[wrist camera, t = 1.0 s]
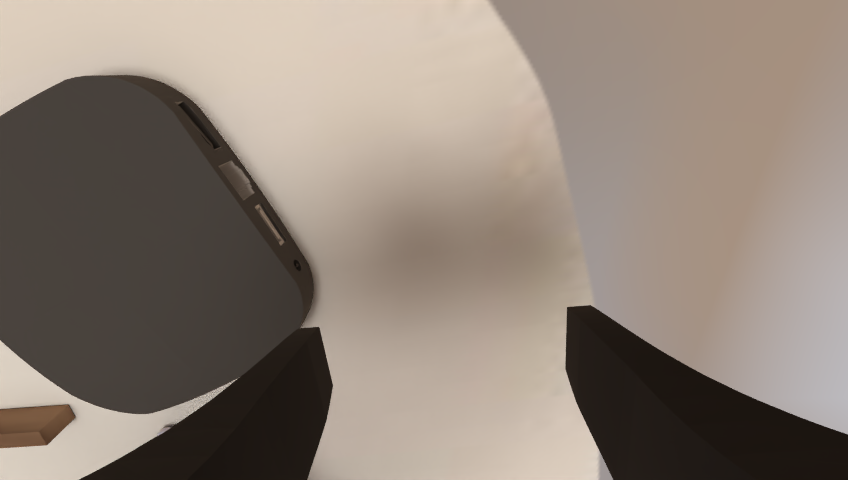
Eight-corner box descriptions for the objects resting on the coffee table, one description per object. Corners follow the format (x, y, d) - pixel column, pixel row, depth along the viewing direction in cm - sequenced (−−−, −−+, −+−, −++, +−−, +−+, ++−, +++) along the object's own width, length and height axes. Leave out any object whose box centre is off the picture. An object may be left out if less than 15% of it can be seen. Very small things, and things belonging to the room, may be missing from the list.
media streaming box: (-67, 194, 20) (-146, 213, 18) (161, 39, 18) (110, 32, 15) (138, 402, 25) (102, 444, 22) (344, 305, 22) (331, 338, 20)
